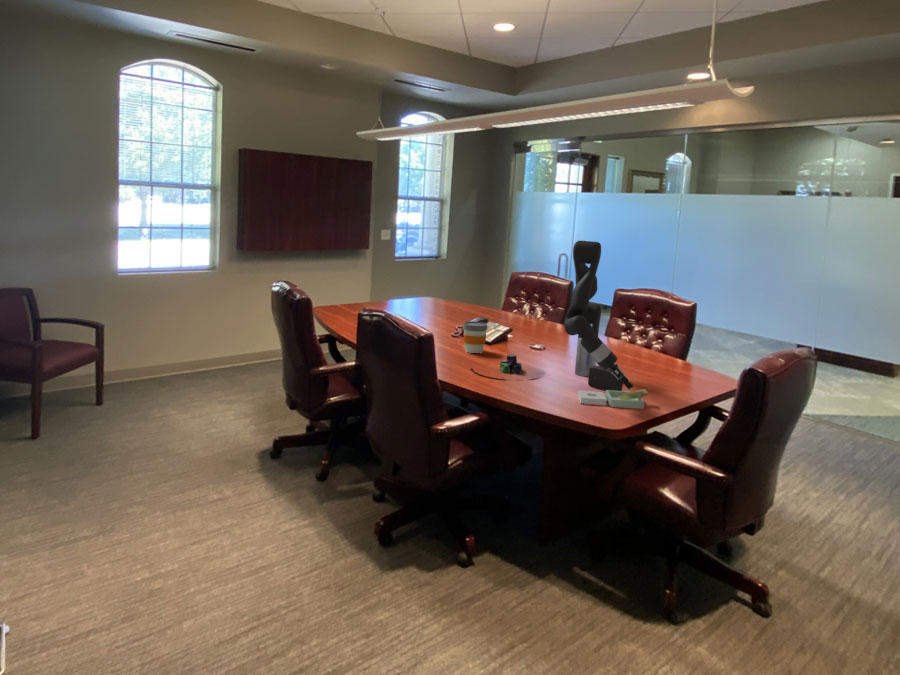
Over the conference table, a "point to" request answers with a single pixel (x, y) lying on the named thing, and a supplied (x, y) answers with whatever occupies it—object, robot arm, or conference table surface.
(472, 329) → the reusable coffee cup
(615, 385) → the leaning round-cornered charcoal block
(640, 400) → the tray
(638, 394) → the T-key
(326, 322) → the conference table surface
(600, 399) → the cover plate
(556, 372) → the conference table surface
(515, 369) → the mineral sample
